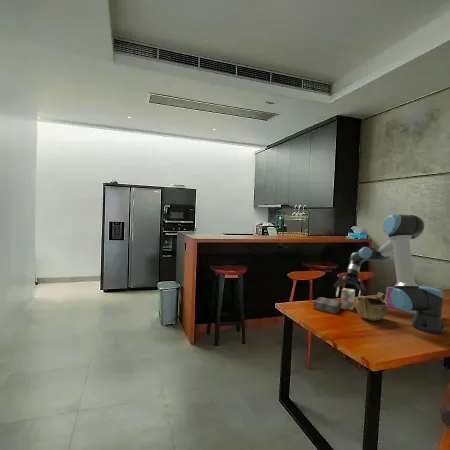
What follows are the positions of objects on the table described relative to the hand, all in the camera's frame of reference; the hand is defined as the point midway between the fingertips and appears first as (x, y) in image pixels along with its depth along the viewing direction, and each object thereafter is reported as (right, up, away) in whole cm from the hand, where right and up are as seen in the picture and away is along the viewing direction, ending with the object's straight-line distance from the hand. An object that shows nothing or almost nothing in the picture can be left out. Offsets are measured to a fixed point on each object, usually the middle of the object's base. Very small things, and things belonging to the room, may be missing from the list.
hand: (347, 298), depth 196 cm
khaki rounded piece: (+6, -8, -19) cm, 21 cm away
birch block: (0, -6, 0) cm, 6 cm away
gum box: (+39, -9, +1) cm, 40 cm away
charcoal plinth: (-15, -6, -3) cm, 16 cm away
